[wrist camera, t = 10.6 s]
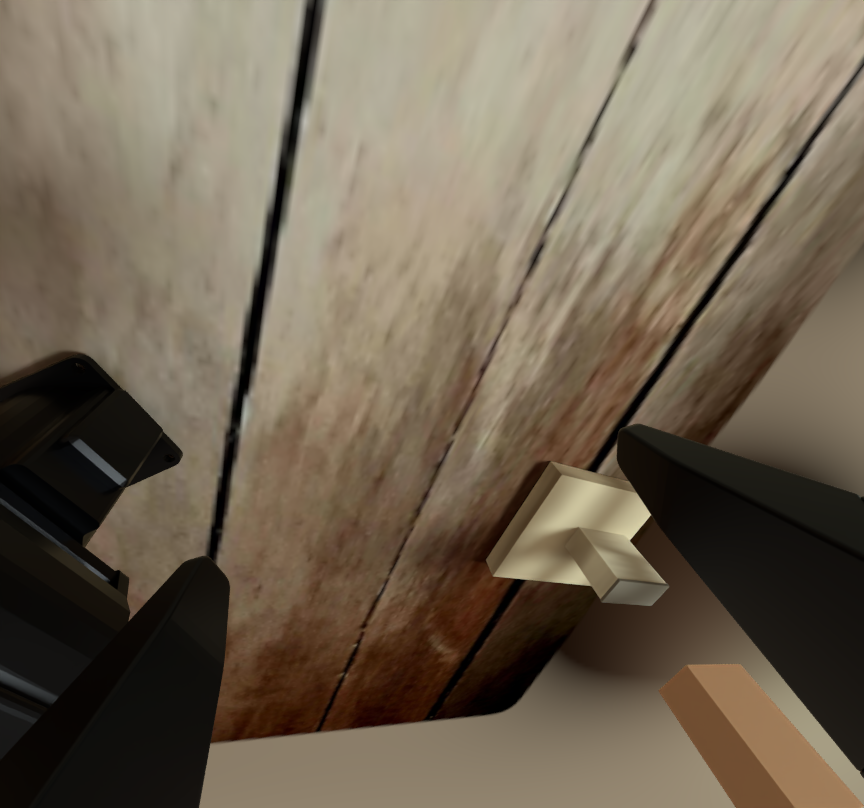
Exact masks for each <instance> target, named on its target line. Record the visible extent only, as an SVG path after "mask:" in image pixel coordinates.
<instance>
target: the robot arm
mask: <svg viewBox="0 0 864 808" xmlns="http://www.w3.org/2000/svg"><path fill="white" fill-rule="evenodd" d="M76 363H80V364H82V365H83V366H84V367H85V369H86V370H81V369H80V368H78V367H77V365H76ZM166 454H170V455H173V456H174V458H171V457H168V456H167V455H166ZM182 456H183V453H182V451H181V450H180V448H179V447H178V446H177V445H176V444H175V443H174V442H173V441H172V440H171V439H170V438H169V437H168V436H167V435H166V434H165V433H164V432H163V429H162V428H161V427H160V426H159V425H158V424H157V423H156V422H155V421H154V420H153V419H152V417H151V416H150V415H149V414H148V413H147V412H146V411H145V410H144V409H143V408H142V407H141V406H140V405H139V404H138V403H137V402H136V401H135V400H134V399H133V398H132V397H131V396H130V395H129V394H128V393H127V392H126V391H124V390H122V389H121V388H120V387H119V385H118V384H117V383H116V382H115V381H114V380H113V379H112V378H111V377H110V376H109V375H108V374H107V373H106V372H105V371H104V370H103V369H102V368H101V367H100V366H99V365H98V364H97V363H96V362H95V361H94V360H93V359H92V358H90V357H89V356H86V355H82V354H77V355H73V356H71V357H68V358H66V359H64V360H62V361H59V362H57V363H55V364H52V365H50V366H48V367H46V368H43V369H41V370H39V371H37V372H34V373H32V374H30V375H27V376H25V377H23V378H21V379H18V380H16V381H14V382H12V383H9V384H7V385H5V386H2V387H0V808H199V804H200V799H201V793H202V787H203V781H204V776H205V770H206V765H207V759H208V753H209V748H210V742H211V737H212V731H213V725H214V720H215V714H216V708H217V703H218V697H219V691H220V686H221V680H222V674H223V667H224V658H225V648H226V634H227V621H228V608H229V595H230V585H229V581H228V579H227V577H226V575H225V574H224V573H223V572H222V571H221V570H220V568H219V567H218V566H217V565H216V564H215V563H214V561H213V560H212V559H211V558H210V557H208V556H200V557H197V558H194V559H191V560H188V561H186V562H184V563H183V564H182V565H181V566H180V567H179V568H178V569H177V570H176V571H175V572H174V573H173V574H172V575H171V576H170V577H169V579H168V580H167V581H166V582H165V583H164V584H163V585H162V586H161V587H160V588H159V589H158V590H157V592H156V593H155V594H154V595H153V596H152V597H151V598H150V599H149V600H148V601H147V602H146V603H145V604H144V606H143V607H142V608H141V609H140V610H139V611H138V612H137V613H136V614H135V615H134V616H133V617H132V619H131V620H130V621H129V622H128V620H129V615H130V609H129V606H128V602H127V594H128V585H129V577H127V576H126V575H125V574H123V573H122V572H121V571H119V570H117V571H114V570H113V569H112V568H110V567H109V566H108V565H107V564H105V563H104V562H103V561H101V560H100V559H99V558H98V557H96V556H95V555H94V554H92V553H91V552H90V551H89V550H87V549H86V548H85V547H86V545H87V544H88V542H89V541H90V539H91V538H92V536H93V535H94V533H95V532H96V530H97V529H98V528H99V527H100V525H101V524H102V522H103V521H104V519H105V518H106V516H107V515H108V513H109V512H110V510H111V509H112V507H113V506H114V504H115V503H116V501H117V500H118V499H119V497H120V496H121V494H122V493H123V491H124V490H125V488H126V487H128V486H131V485H133V484H135V483H137V482H140V481H142V480H144V479H146V478H148V477H151V476H153V475H155V474H157V473H160V472H162V471H164V470H166V469H168V468H171V467H173V466H175V465H177V464H178V463H179V462H180V460H181V458H182ZM617 461H618V464H619V467H620V468H621V470H622V471H623V473H624V474H625V476H626V477H627V479H628V481H629V482H630V484H631V485H632V487H633V488H634V490H635V491H636V493H637V494H638V496H639V497H640V499H641V500H642V502H643V503H644V505H645V506H646V508H647V509H648V511H649V513H650V514H651V516H652V517H653V519H654V520H655V521H656V523H657V524H658V526H659V527H660V528H661V530H662V531H663V532H664V533H665V535H666V536H667V537H668V538H669V540H670V541H671V542H672V543H673V545H674V546H675V547H676V548H677V549H678V551H679V552H680V553H681V554H682V556H683V557H684V558H685V559H686V560H687V562H688V563H689V564H690V565H691V567H692V568H693V569H694V570H695V571H696V573H697V574H698V575H699V576H700V578H701V579H702V580H703V581H704V582H705V584H706V585H707V586H708V587H709V589H710V590H711V591H712V592H713V594H714V595H715V596H716V597H717V598H718V600H719V601H720V602H721V603H722V604H723V606H724V607H725V608H726V610H727V611H728V612H729V613H730V614H731V616H732V617H733V618H734V619H735V620H736V622H737V623H738V624H739V626H740V627H741V628H742V629H743V630H744V631H745V633H746V634H747V635H748V636H749V638H750V639H751V640H752V641H753V643H754V644H755V645H756V646H757V647H758V649H759V650H760V651H761V652H762V654H763V655H764V656H765V657H766V659H767V660H768V661H769V662H770V663H771V665H772V666H773V667H774V668H775V669H776V671H777V672H778V673H779V675H781V677H782V678H783V679H784V681H785V682H786V683H787V684H788V686H789V687H790V688H791V689H792V690H793V692H794V693H795V694H796V695H797V697H798V698H799V699H800V700H801V701H802V702H803V704H804V705H805V706H806V708H807V709H808V710H809V711H810V713H811V714H812V715H813V716H814V717H815V719H816V720H817V721H818V722H819V724H820V725H821V726H822V727H823V728H824V730H825V731H826V732H827V733H828V735H829V736H830V737H831V738H832V739H833V741H834V742H835V743H836V744H837V746H838V747H839V748H840V749H841V751H843V753H844V754H845V755H846V757H847V758H848V759H849V760H850V762H851V763H852V764H853V765H854V766H855V768H856V769H857V770H859V771H860V774H861V775H862V777H863V778H864V497H859V495H857V494H855V493H852V492H849V491H846V490H843V489H839V488H836V487H833V486H830V485H827V484H824V483H821V482H818V481H815V480H812V479H809V478H805V477H802V476H799V475H796V474H793V473H790V472H787V471H784V470H781V469H778V468H775V467H772V466H769V465H765V464H762V463H759V462H756V461H753V460H750V459H747V458H744V457H741V456H738V455H735V454H732V453H729V452H725V451H722V450H719V449H716V448H713V447H710V446H707V445H704V444H701V443H698V442H695V441H692V440H689V439H685V438H682V437H679V436H676V435H673V434H670V433H667V432H664V431H661V430H658V429H655V428H652V427H648V426H645V425H642V424H634V425H630V426H627V427H624V428H621V429H620V430H619V432H618V442H617Z"/></svg>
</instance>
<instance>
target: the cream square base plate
mask: <svg viewBox="0 0 864 808" xmlns="http://www.w3.org/2000/svg"><path fill="white" fill-rule="evenodd" d="M650 515H651V514H650V513H649V511H648V509H647V508H646V506H645V505H644V503H643V502H642V500H641V499H640V497H639V496H638V494H637V493H636V491H635V490H634V488H633V487H632V485H631V484H630V482H628V481H625V480H621V479H617V478H613V477H609V476H605V475H602V474H598V473H594V472H590V471H586V470H582V469H579V468H575V467H571V466H567V465H563V464H559V463H556V462H552V461H551V462H550V463H549V465H548V466H547V468H546V469H545V471H544V472H543V474H542V475H541V477H540V478H539V480H538V481H537V483H536V484H535V486H534V487H533V489H532V491H531V492H530V494H529V495H528V497H527V498H526V500H525V501H524V503H523V504H522V506H521V507H520V509H519V510H518V512H517V513H516V515H515V516H514V518H513V519H512V521H511V522H510V524H509V526H508V527H507V529H506V530H505V532H504V533H503V535H502V536H501V538H500V539H499V541H498V542H497V544H496V545H495V547H494V548H493V550H492V551H491V553H490V554H489V556H488V557H487V559H486V562H487V564H488V566H489V568H490V571H491V573H492V575H493V576H496V577H506V578H516V579H526V580H537V581H547V582H557V583H567V584H577V585H588V586H592V587H593V589H594V590H595V592H596V593H597V595H598V596H599V598H600V600H601V602H606V603H620V604H633V605H646V606H651V605H653V603H654V602H655V601H656V600H657V599H658V598H659V597H660V596H661V595H662V594H663V593H664V592H665V591H666V590H667V589H668V588H669V585H668V584H666V583H665V581H664V580H663V579H662V578H661V577H660V576H659V575H658V574H657V572H656V571H655V570H654V569H653V568H652V566H651V565H649V563H648V562H647V561H646V560H645V558H644V557H643V556H642V555H641V554H640V553H639V551H638V550H637V549H636V548H635V547H634V546H633V545H632V543H631V542H630V539H631V538H632V537H633V536H634V535H635V533H636V532H637V531H638V530H639V529H640V527H641V526H642V525H643V524H644V523H645V521H646V520H647V519H648V518H649V517H650Z"/></svg>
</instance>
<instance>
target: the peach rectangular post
mask: <svg viewBox="0 0 864 808" xmlns="http://www.w3.org/2000/svg"><path fill="white" fill-rule="evenodd" d="M659 692H660V694H661V695H662V697H663V698H664V700H665V702H666V703H667V704H668V706H669V707H670V709H671V711H672V712H673V713H674V715H675V716H676V718H677V720H678V721H679V723H680V724H681V726H682V727H683V729H684V730H685V732H686V733H687V735H688V736H689V737H690V739H691V741H692V742H693V744H694V745H695V747H696V748H697V749H698V751H699V753H700V754H701V756H702V757H703V759H704V760H705V762H706V763H707V765H708V766H709V768H710V769H711V771H712V772H713V774H714V775H715V777H716V778H717V780H718V781H719V783H720V784H721V786H722V787H723V789H724V790H725V792H726V793H727V795H728V796H729V798H730V799H731V801H732V802H733V804H734V805H735V807H736V808H861V807H863V806H864V805H863V804H862V803H861V802H860V801H859V800H858V798H857V797H856V796H855V795H854V794H853V793H852V792H851V791H850V789H849V788H848V787H847V786H846V785H845V784H844V783H843V781H842V780H841V779H840V778H839V777H838V776H837V774H836V773H835V772H834V771H833V770H832V769H831V768H830V767H829V765H828V764H827V763H826V762H825V761H824V760H823V759H822V757H821V756H820V755H819V754H818V753H817V752H816V750H815V749H814V748H813V747H812V746H811V745H810V744H809V742H808V741H807V740H806V739H805V738H804V737H803V736H802V734H801V733H800V732H799V731H798V730H797V729H796V727H795V726H794V725H793V724H792V723H791V722H790V721H789V719H788V718H787V717H786V716H785V715H784V714H783V713H782V712H781V710H780V709H779V708H778V707H777V706H776V705H775V703H774V702H773V701H772V700H771V699H770V698H769V697H768V696H767V694H766V693H765V692H764V691H763V690H762V689H761V688H760V686H759V685H758V684H757V683H756V682H755V681H754V679H753V678H752V677H751V676H750V675H749V674H748V673H747V671H746V670H745V669H744V668H743V667H742V666H741V665H740V664H716V665H715V664H714V665H712V664H711V665H686V666H685V667H684V668H683V669H681V670H680V671H679V672H678V673H677V674H676V675H675V676H674V677H673V678H672V679H671V680H670V681H669V682H667V683H666V684H665V685H664V686H663V687H662V688H661V689H660V690H659Z"/></svg>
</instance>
